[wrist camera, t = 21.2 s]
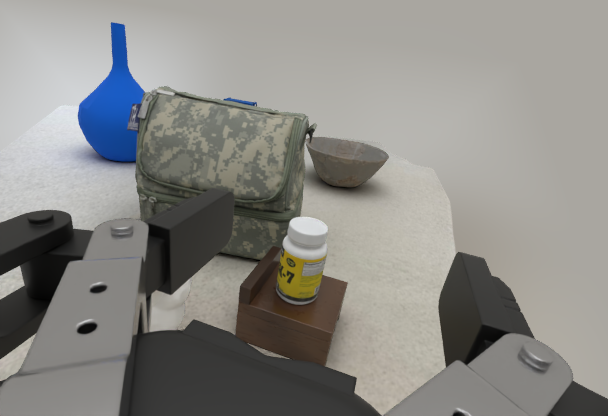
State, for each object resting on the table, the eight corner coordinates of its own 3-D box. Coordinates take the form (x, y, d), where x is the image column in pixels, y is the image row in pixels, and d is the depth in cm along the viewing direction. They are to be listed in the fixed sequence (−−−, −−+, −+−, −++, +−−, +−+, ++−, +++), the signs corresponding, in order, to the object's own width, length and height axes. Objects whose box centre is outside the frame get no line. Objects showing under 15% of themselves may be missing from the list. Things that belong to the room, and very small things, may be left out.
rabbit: (194, 323, 36) (197, 228, 32) (174, 403, 28) (173, 290, 23) (74, 319, 34) (58, 217, 30) (13, 404, 26) (-23, 280, 21)
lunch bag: (116, 239, 49) (103, 85, 40) (175, 197, 66) (176, 81, 57) (286, 275, 47) (311, 122, 39) (303, 222, 64) (323, 108, 55)
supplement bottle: (269, 281, 37) (278, 215, 34) (306, 276, 39) (318, 213, 36) (285, 310, 33) (297, 238, 30) (325, 302, 35) (340, 234, 32)
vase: (91, 144, 87) (77, 17, 76) (165, 148, 94) (164, 32, 82) (74, 166, 72) (54, 10, 60) (164, 169, 79) (162, 30, 67)
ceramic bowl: (355, 170, 104) (362, 139, 100) (395, 199, 85) (406, 162, 81) (289, 167, 96) (294, 133, 92) (316, 198, 77) (324, 157, 73)
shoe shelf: (339, 314, 41) (351, 268, 39) (323, 370, 33) (337, 317, 31) (266, 290, 43) (272, 245, 41) (234, 338, 35) (240, 285, 33)
